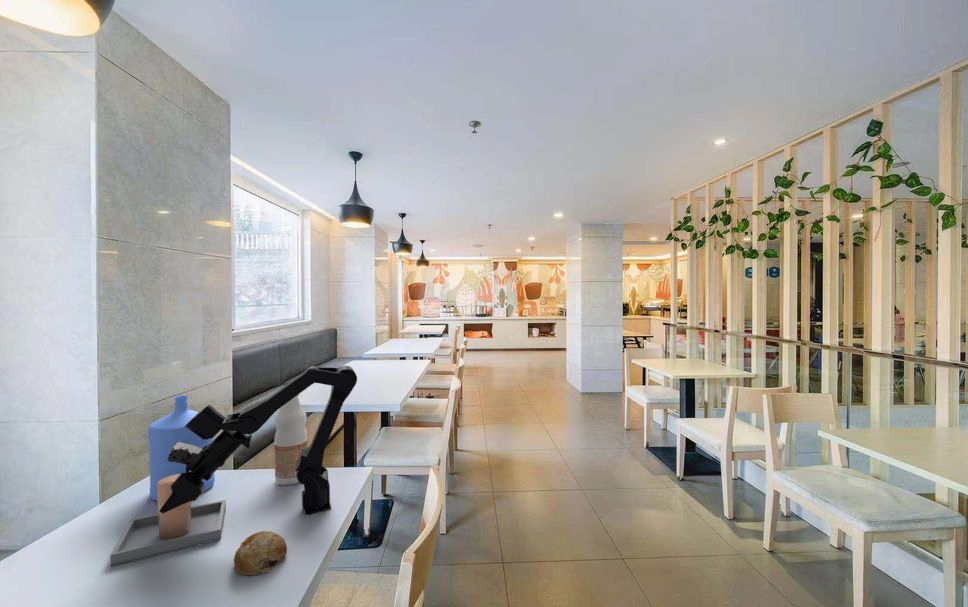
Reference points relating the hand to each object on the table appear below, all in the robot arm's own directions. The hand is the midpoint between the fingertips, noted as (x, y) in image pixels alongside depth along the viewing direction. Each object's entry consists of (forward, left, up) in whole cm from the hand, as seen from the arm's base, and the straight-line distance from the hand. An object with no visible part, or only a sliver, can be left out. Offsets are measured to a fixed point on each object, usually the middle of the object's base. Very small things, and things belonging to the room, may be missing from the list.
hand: (167, 502), depth 100 cm
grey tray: (-1, 0, -8) cm, 8 cm away
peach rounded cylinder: (-2, 0, -8) cm, 8 cm away
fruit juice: (-28, -19, -8) cm, 35 cm away
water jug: (+1, -27, -8) cm, 28 cm away
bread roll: (-20, +22, -8) cm, 30 cm away
